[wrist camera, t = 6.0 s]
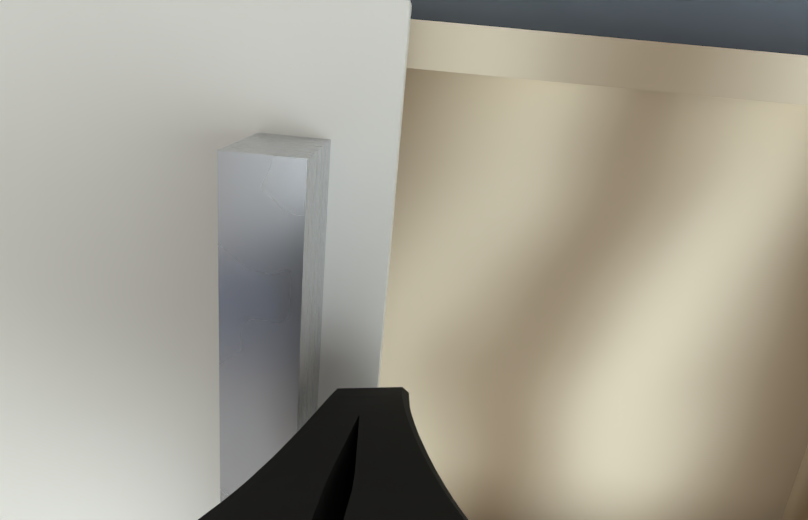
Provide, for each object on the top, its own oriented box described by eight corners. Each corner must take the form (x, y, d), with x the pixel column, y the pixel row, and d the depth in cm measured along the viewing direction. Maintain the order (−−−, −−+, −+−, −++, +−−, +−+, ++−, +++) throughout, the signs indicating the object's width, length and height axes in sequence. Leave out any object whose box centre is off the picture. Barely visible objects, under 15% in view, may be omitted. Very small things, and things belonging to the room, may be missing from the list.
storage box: (951, 78, 14) (1142, 86, 10) (779, 559, 19) (868, 689, 15) (259, 14, 14) (197, -1, 10) (253, 504, 19) (208, 618, 15)
